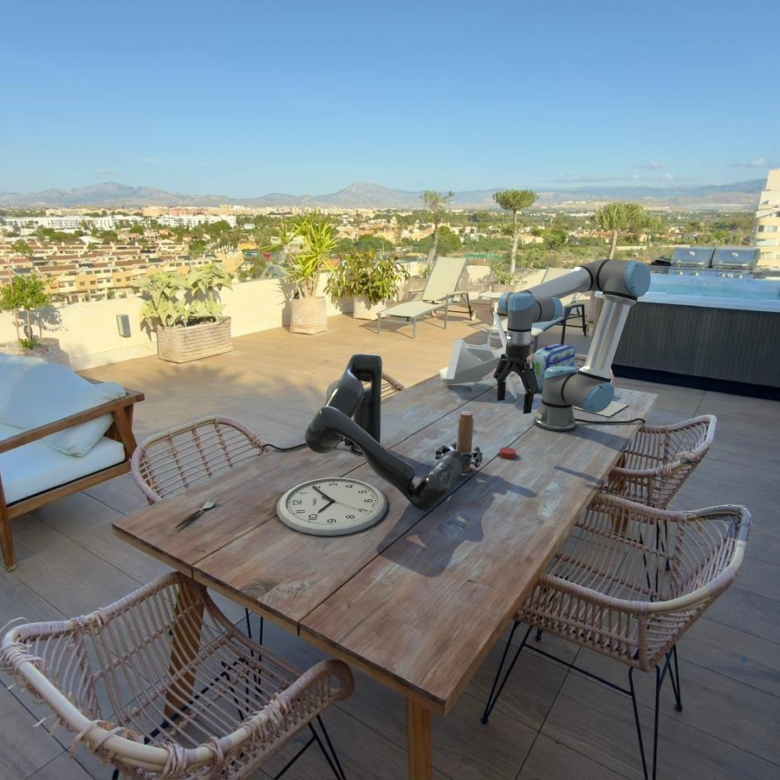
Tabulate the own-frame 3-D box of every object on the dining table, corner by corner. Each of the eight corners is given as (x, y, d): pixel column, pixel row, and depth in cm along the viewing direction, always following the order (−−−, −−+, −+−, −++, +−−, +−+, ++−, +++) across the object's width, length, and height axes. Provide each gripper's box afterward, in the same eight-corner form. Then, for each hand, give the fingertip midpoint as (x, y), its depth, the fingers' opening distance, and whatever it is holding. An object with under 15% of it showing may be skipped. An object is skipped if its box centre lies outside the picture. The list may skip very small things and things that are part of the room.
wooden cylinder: (453, 467, 166) (456, 412, 161) (463, 464, 169) (467, 409, 163) (462, 473, 163) (466, 416, 157) (473, 469, 165) (477, 414, 160)
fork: (171, 528, 130) (170, 521, 130) (212, 499, 145) (211, 492, 144) (179, 530, 129) (178, 523, 129) (220, 500, 144) (219, 494, 143)
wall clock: (392, 527, 129) (268, 531, 127) (391, 533, 130) (269, 537, 127) (383, 473, 158) (282, 475, 155) (383, 478, 158) (282, 480, 156)
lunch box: (547, 396, 238) (552, 351, 232) (526, 391, 246) (531, 347, 239) (574, 385, 256) (579, 343, 250) (554, 380, 263) (559, 340, 257)
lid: (515, 459, 173) (515, 454, 173) (499, 457, 174) (499, 452, 174) (515, 453, 178) (515, 448, 178) (499, 451, 179) (500, 446, 179)
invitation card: (608, 416, 214) (573, 407, 224) (608, 416, 214) (573, 408, 224) (628, 404, 229) (594, 396, 238) (628, 405, 229) (594, 397, 238)
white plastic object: (461, 429, 252) (437, 405, 227) (444, 352, 274) (420, 323, 250) (535, 404, 240) (518, 377, 215) (510, 326, 262) (492, 293, 237)
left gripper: (425, 474, 156) (444, 453, 170) (472, 484, 150) (487, 462, 164) (426, 451, 153) (445, 432, 168) (474, 460, 148) (489, 440, 162)
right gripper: (485, 336, 174) (482, 397, 181) (535, 353, 153) (529, 420, 159) (503, 334, 177) (499, 394, 184) (555, 350, 156) (548, 417, 162)
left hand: (466, 447), depth 166 cm, fingers open, 6 cm apart
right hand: (513, 406), depth 171 cm, fingers open, 13 cm apart
